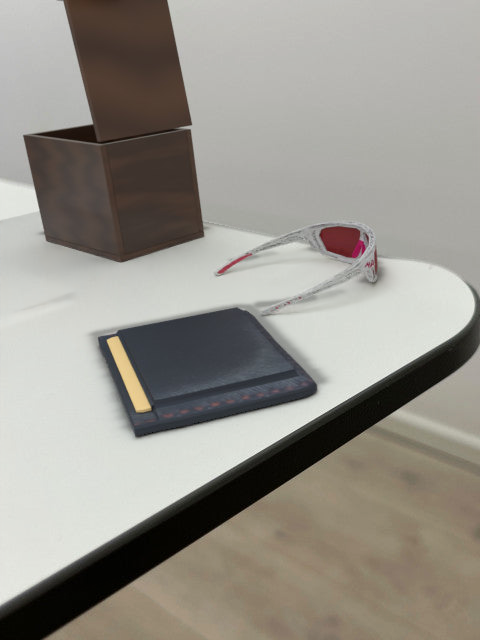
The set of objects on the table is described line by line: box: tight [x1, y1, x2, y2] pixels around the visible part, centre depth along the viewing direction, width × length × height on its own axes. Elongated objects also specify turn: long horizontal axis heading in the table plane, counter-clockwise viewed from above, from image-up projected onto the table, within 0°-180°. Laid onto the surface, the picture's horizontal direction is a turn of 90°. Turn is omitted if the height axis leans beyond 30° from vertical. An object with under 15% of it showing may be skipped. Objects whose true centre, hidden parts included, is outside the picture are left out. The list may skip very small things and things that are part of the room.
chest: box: [22, 123, 205, 263], centre depth 103 cm, size 18×14×14 cm
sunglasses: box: [213, 220, 378, 316], centre depth 87 cm, size 17×17×5 cm
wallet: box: [97, 306, 318, 438], centre depth 67 cm, size 20×2×15 cm
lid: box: [62, 0, 193, 142], centre depth 89 cm, size 18×14×7 cm
